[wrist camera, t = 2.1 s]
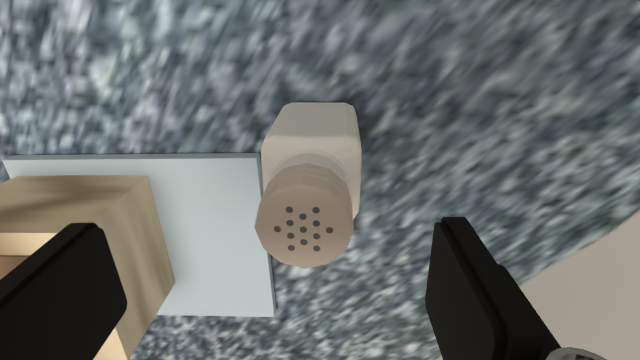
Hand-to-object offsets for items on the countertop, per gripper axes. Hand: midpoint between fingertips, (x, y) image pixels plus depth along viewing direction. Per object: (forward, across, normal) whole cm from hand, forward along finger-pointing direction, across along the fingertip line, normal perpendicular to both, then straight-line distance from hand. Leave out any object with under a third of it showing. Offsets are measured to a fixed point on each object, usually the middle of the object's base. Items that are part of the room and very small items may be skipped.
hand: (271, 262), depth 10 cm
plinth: (+11, +13, +6) cm, 18 cm away
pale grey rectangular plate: (+11, +10, +7) cm, 17 cm away
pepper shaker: (+11, -1, 0) cm, 11 cm away
